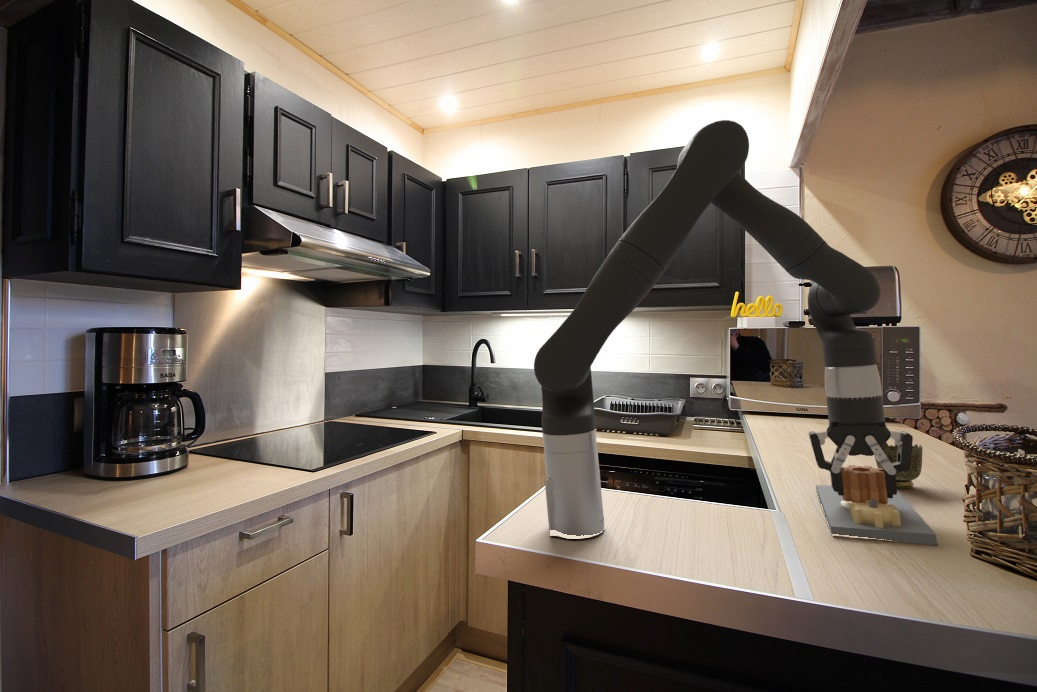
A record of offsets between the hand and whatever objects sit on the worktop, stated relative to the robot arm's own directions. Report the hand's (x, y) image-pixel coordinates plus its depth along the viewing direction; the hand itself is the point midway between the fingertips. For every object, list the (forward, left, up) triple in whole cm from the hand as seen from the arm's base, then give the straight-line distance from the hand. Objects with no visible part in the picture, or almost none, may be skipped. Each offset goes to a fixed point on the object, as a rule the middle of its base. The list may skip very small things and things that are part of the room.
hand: (864, 495), depth 75 cm
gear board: (0, 0, -3) cm, 3 cm away
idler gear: (0, 0, -1) cm, 1 cm away
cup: (+13, +14, -3) cm, 19 cm away
